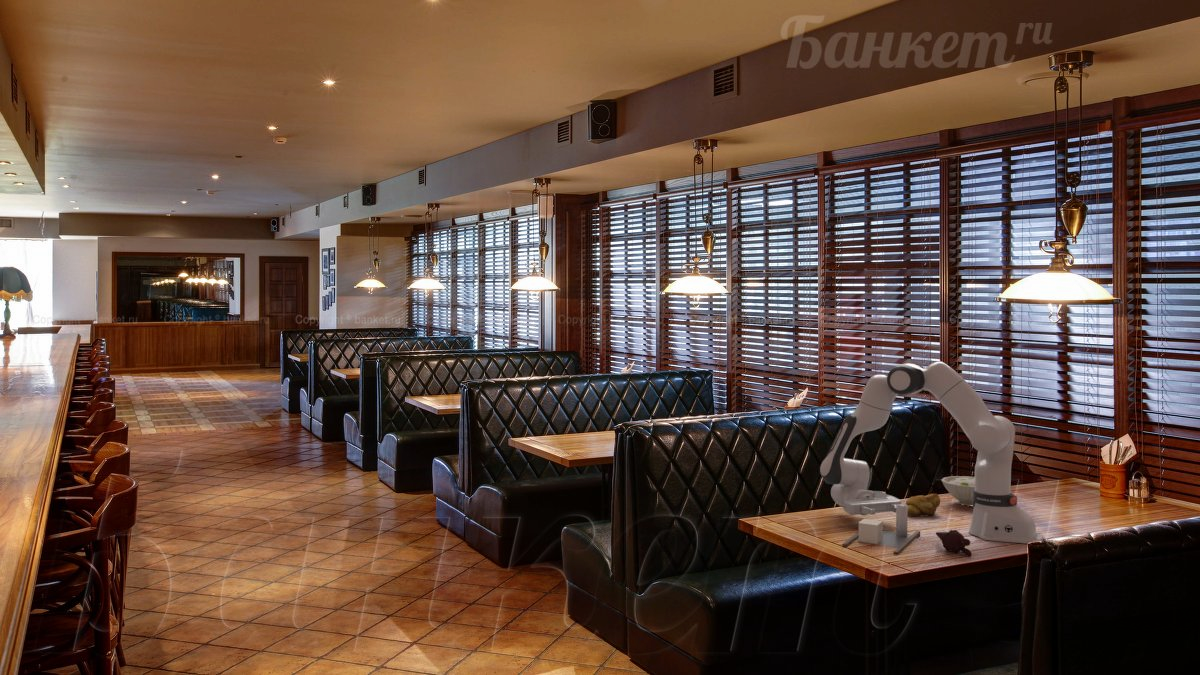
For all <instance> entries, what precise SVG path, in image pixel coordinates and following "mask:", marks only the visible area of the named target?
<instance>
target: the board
mask: <svg viewBox="0 0 1200 675" xmlns="http://www.w3.org/2000/svg"><path fill="white" fill-rule="evenodd" d="M907 513H908V506H907V505H906V503H905V504H903V503H902V504H897V505H896V513H895V522H896V523H895V531H888V530H883V540H881V541H880V542H879V543H878V544H874V543H867V542H860V541H859V537H858V538H857V539H856V540H855V541H854V542H856V543H863V544H871V545H877V546H884V547H888V548H889V547H890V548H896V549H897V548H898V547H899V546H900V545H901V544H903V543H904V542H905V541H906V540H907V539H908V538H909V537H910V536H911V535H912V534H910V533H908V514H907Z"/></svg>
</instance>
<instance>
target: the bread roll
mask: <svg viewBox="0 0 1200 675" xmlns="http://www.w3.org/2000/svg"><path fill="white" fill-rule="evenodd" d="M905 505H907V506H908V513H907V516H911V517H921V516H922V515H930V516H934V515H935V514H936V511H937V510H938V509H937V508H938V507H939V506H940V505H941V497H940V496H939V494H937V493H930V494H927V495H923V494H922V495H921V494H920V495H915V496H910V497H909V498H907V499H906V501H905ZM920 515H921V516H920Z"/></svg>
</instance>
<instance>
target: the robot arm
mask: <svg viewBox="0 0 1200 675" xmlns="http://www.w3.org/2000/svg"><path fill="white" fill-rule="evenodd" d="M924 390H925V391H928V392H930V394H931V395H932V396H934V398H936V400H937V401H939V403H940V404H941V405H942V407H943V408H944V409H946V411H947V412H948V413H950V415H951V416H952V418H954V420H955V422H957V423H958V425H959V427H960V428H961V429H962V431H963V433H964V434H965V435H966V437H967V438H968V440H969V442H970V445H971V446H972V447H973V448H974V450H976V451H977V456H976V462H975V465H974V477H975V490H974V491H973V511H972V518H971V523H970V526H969V529H968V532H969V533H970V534H971V535H973V536H976V537H978V538H980V539H982V540H984V541H985V540H986V541H991V542H992V541H994V542H1003V543H1004V542H1005V543H1018V544H1028V543H1029V542H1033V541H1038V540H1042V541H1044V534H1043V533H1041V532H1040V531H1037V527H1036V523H1035V520H1034V518H1033V517H1032V516H1031V515H1030V514H1029V513H1028V512H1027V511H1025V510H1024V509H1023V508H1021V507H1020V506H1019V505H1018V495H1017V494H1013V493H1012V492H1011V488H1012V486H1011V485H1012V484H1011V482H1012V480H1011V479H1012V466H1013V465H1012V463H1013V458H1014V457H1013V456H1014V447H1015V436H1016V427H1015V425H1014V424H1013V422H1012V421H1011V420H1010V419H1008V418H1007V417H1005V416H1002V415H993V413H992V412H991V411H990V409H989V408H988V407H987V405H986V404H985V402H984V400H983V398H982V396H980V394H979V393H978V392H977V391H976V390H975V389H974V388H973V387H972V386H971V385H970V384H969V383H968V382H967V381H966V380H965V378H963V376H961V375H960V373H958V372H957V371H956V370H954V369H953V368H952V367H951V366H949V365H948V364H947V363H945V362H943V361H934V362H932V363H930V364H928V365H927V366H926V367H924V366H922V365H920V364H918V363H909V362H906V363H901V364H897V365H895V366H893V367H892V368H891V369H890V370H889V372H888V374H887V375H886V374H874V375H872V376H871V377H870V378H869V379H868V381H867V382H866V385H865V387H864V388H863V391H862V394H861V397H860V400H859V401H858V402H859V403H858V405H857V407H856V408H855V410H853V411H852V413H851V414H849V415H847V416H846V417H845V419H844V420H843V421H842V424H841V426H840V427H839V430H838V432H837V433H836V435H835V438H834V440H833V442H832V444H831V445H830V448H829V449H828V452H827V454H826V455H825V457H824V458H823V460H821V464H820V466H819V474H820V476H821V478H822V480H824V482H825V483H826V484H827V485H832V486H831V489H830V496H831V498H832V500H833V501H834V502H835V503H836V504H837V505H838V506H839V507H840V508H843V511H844V512H846V513H847V514H849V515H853V516H856V515H861V516H868V515H871V516H873V515H875V514H878V513H891V512H893V513H895V514H896V505H897V504H903V503H902V500H901V499H899V498H898V497H896V496H893V495H890V494H887V493H886V492H885V491H880V490H869V487H870V486H871V483H872V476H873V475H872V469H871V467H870V466H869V464H868V463H867V461H865V460H859V459H855V458H853V459H852V458H848V457H845V455H846V453H847V451H848V449H849V447H850V444H851V442H852V441H853V439H854V438H855V437H857V436H858V435H860V434H863V433H866V432H872V431H876V430H878V429H881V428H882V427H883V426H885V424H887V421H888V420H889V417H890V414H891V410H892V408H893V405H894V402H895V400H896V398H897V397H898V396H912V395H916V394H919V393H921V392H924ZM1028 545H1029V544H1028Z"/></svg>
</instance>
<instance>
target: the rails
mask: <svg viewBox="0 0 1200 675" xmlns="http://www.w3.org/2000/svg"><path fill="white" fill-rule="evenodd" d="M919 537H920V538H921V531H920V530H916V531H914V533H912V534H911V536H910V537H909V538H908V539H907V540H906V541H905V542H904V543H903V544H901V545H900V546H899V547H898V548H896V549H895V550H894V551H893V555H897V556H898V555H899V554H901V552H903V551H904V550H905V549H906V548H907V547H908V546H909V545H910V544H911V543H912V542H914V540H915V539H918V538H919ZM858 538H859V531H858V532H856V533H855V534H854V535H852V536H851V537H849V538H848V539H847V540H845V541H844V542H843V543H842V544H841V547H843V548H847V547H848V546H850V545H851V544H853V542H855V541H856V540H857V539H858ZM920 538H919V539H920Z"/></svg>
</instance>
